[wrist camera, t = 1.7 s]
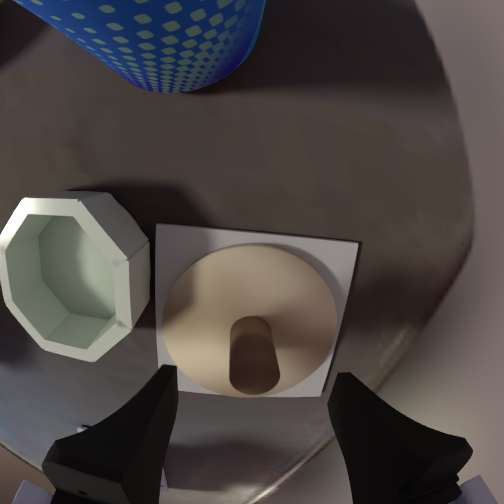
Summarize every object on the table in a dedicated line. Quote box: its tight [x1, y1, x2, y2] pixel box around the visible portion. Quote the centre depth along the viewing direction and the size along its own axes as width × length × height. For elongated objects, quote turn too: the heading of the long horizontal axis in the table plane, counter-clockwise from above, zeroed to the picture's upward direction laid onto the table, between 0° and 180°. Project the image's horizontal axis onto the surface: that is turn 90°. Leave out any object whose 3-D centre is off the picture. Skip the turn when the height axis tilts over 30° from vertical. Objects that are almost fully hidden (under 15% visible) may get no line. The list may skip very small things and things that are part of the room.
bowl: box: [0, 191, 151, 362], centre depth 15 cm, size 9×9×4 cm
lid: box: [162, 243, 337, 398], centre depth 15 cm, size 10×10×5 cm
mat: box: [155, 223, 358, 397], centre depth 18 cm, size 12×12×1 cm
